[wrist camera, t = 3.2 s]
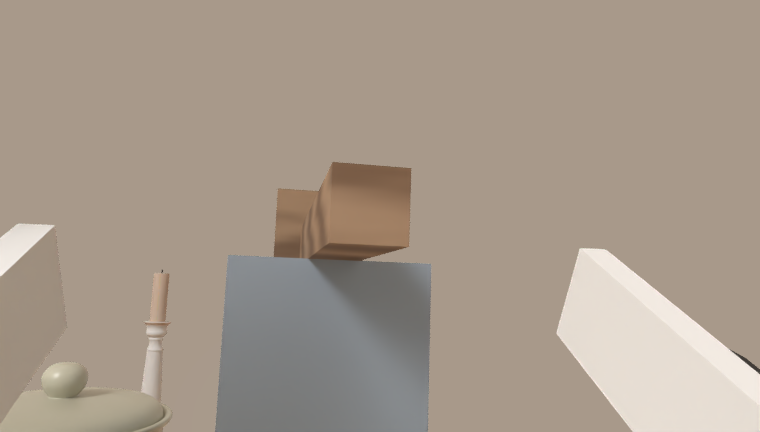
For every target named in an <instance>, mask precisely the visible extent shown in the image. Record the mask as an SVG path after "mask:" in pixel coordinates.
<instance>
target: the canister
mask: <svg viewBox="0 0 760 432" xmlns="http://www.w3.org/2000/svg"><path fill="white" fill-rule="evenodd" d="M87 380H88V372H87V370H86V368H85V367H84V366H83V365H81V364H79V363H74V362H63V363H57V364H54V365H52V366H50V367H49V368H48V369H47V370H46V371H45V372H44V373H43V375H42V379H41V384H42V388H43V390H34V391H25V392H22V393H21V395H20V396H19V398H18V399H17V401H16V402H15V403H14V405H13V406H12V408H11V409H10V411H9V412H8V414H7V415H6V416H5V418H4V419H3V421H2V422H1V424H0V432H162V431H163V427H164V426H165V425H167V424H168V422H169V421H170V420H171V418H172V410H171V409H170V408H169V407H168V406H166V405H164V404H162V403H159V401H158V400H156V399H155V398H154V397H152V396H150V395H148V394H145V393H142V392H138V391H132V390H126V389H118V388H104V387H85V385H86V383H87Z"/></svg>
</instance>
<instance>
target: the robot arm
mask: <svg viewBox="0 0 760 432" xmlns="http://www.w3.org/2000/svg"><path fill="white" fill-rule="evenodd" d="M58 256H59V255H58V247H57V239H56V231H55V225H38V224H37V225H35V224H17V225H16V226H15V227H13V228H12V229H11V230H9V231H8V232H7V233H6V234H5V235H3V236H2V237H1V238H0V424H1V422H2V421H3V419H4V418H5V416H6V415H7V414H8V412H9V411H10V409H11V408H12V406H13V405H14V403H15V402H16V401H17V399H18V398H19V396H20V395H21V393H22V392H23V390H24V389H25V388H26V386H27V385H28V383H29V382H30V380H31V379H32V377H33V376H34V375H35V373H36V372H37V370H38V369H39V367H40V366H41V364H42V363H43V362H44V360H45V358H46V357H47V356H48V354H49V353H50V351H51V350H52V348H53V347H54V345H55V344H56V343H57V341H58V340H59V338H60V337H61V336H62V334H63V333H64V331H65V330H66V328H67V322H66V314H65V306H64V297H63V290H62V280H61V272H60V264H59V257H58ZM557 335H558V336H559V337H560V339H561V340H562V341H563V342H564V344H565V345H566V346H567V348H568V349H569V350H570V352H571V353H572V354H573V355H574V357H575V358H576V359H577V361H578V362H579V363H580V364H581V366H582V367H583V368H584V370H585V371H586V372H587V373H588V375H589V376H590V377H591V379H592V380H593V381H594V382H595V384H596V385H597V386H598V387H599V389H600V390H601V391H602V393H603V394H604V395H605V397H606V398H607V399H608V400H609V402H610V403H611V404H612V405H613V407H614V408H615V409H616V411H617V412H618V413H619V414H620V416H621V417H622V418H623V420H624V421H625V422H626V424H627V425H628V426H629V427H630V429H631V430H632V431H633V432H760V369H758V368H757V367H756V366H755V365H754V364H752V363H751V362H750V361H748V360H747V359H746V358H744V357H743V356H741V355H739V354H737V353H735V352H734V351H731V350H730V349H728V348H726V347H725V346H724V345H723V344H722V343H720V342H719V341H718V340H717V339H716V338H714V337H713V336H712V335H711V334H709V333H708V332H707V331H706V330H704V329H703V328H702V327H701V326H700V325H698V324H697V323H696V322H695V321H693V320H692V319H691V318H690V317H688V316H687V315H686V314H685V313H683V312H682V311H681V310H680V309H678V308H677V307H676V306H675V305H674V304H672V303H671V302H670V301H669V300H667V299H666V298H665V297H664V296H663V295H661V294H660V293H659V292H658V291H656V290H655V289H654V288H653V287H651V286H650V285H649V284H648V283H646V282H645V281H644V280H643V279H641V278H640V277H639V276H638V275H637V274H635V273H634V272H633V271H632V270H630V269H629V268H628V267H627V266H625V265H624V264H623V263H622V262H621V261H619V260H618V259H617V258H616V257H614V256H613V255H612V254H611V253H609V252H608V251H607V250H606V249H587V248H586V249H585V248H580V250H579V254H578V258H577V261H576V265H575V268H574V272H573V276H572V279H571V283H570V287H569V290H568V294H567V297H566V301H565V304H564V308H563V311H562V315H561V319H560V322H559V326H558V330H557Z"/></svg>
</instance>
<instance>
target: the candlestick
mask: <svg viewBox="0 0 760 432" xmlns="http://www.w3.org/2000/svg"><path fill="white" fill-rule="evenodd" d="M162 272H163V270H162ZM168 283H169V274H166V273H154V280H153V291H152V303H151V313H150V321H144V323H145V324H146V326H147V331H146V334H147V335H148V336H149V347H148V349H147V355H146V363H145V369H144V376H143V383H142V390H141V392H142V393H145V394H148V395H150V396H152V397H154V398H155V399H156V400H158V401H159V403H161V383H162V382H161V381H162V353H163V348H162V340H163V337H164V336H165V335H166V334H167V330H166V328H167V326H168V325H169V324H170V323H171V322H169V321H165V318H166V307H167V294H168Z"/></svg>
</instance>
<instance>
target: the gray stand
mask: <svg viewBox="0 0 760 432" xmlns="http://www.w3.org/2000/svg"><path fill="white" fill-rule="evenodd" d="M430 297H431V264H420V263H419V264H418V263H397V262H396V263H395V262H374V261H373V262H372V261H351V260H328V259H305V258H282V257H259V256H235V255H228V263H227V277H226V291H225V304H224V305H225V306H224V318H223V332H222V346H221V359H220V373H219V387H218V401H217V415H216V428H215V429H216V430H215V432H428V394H429V393H428V392H429V344H430Z"/></svg>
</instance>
